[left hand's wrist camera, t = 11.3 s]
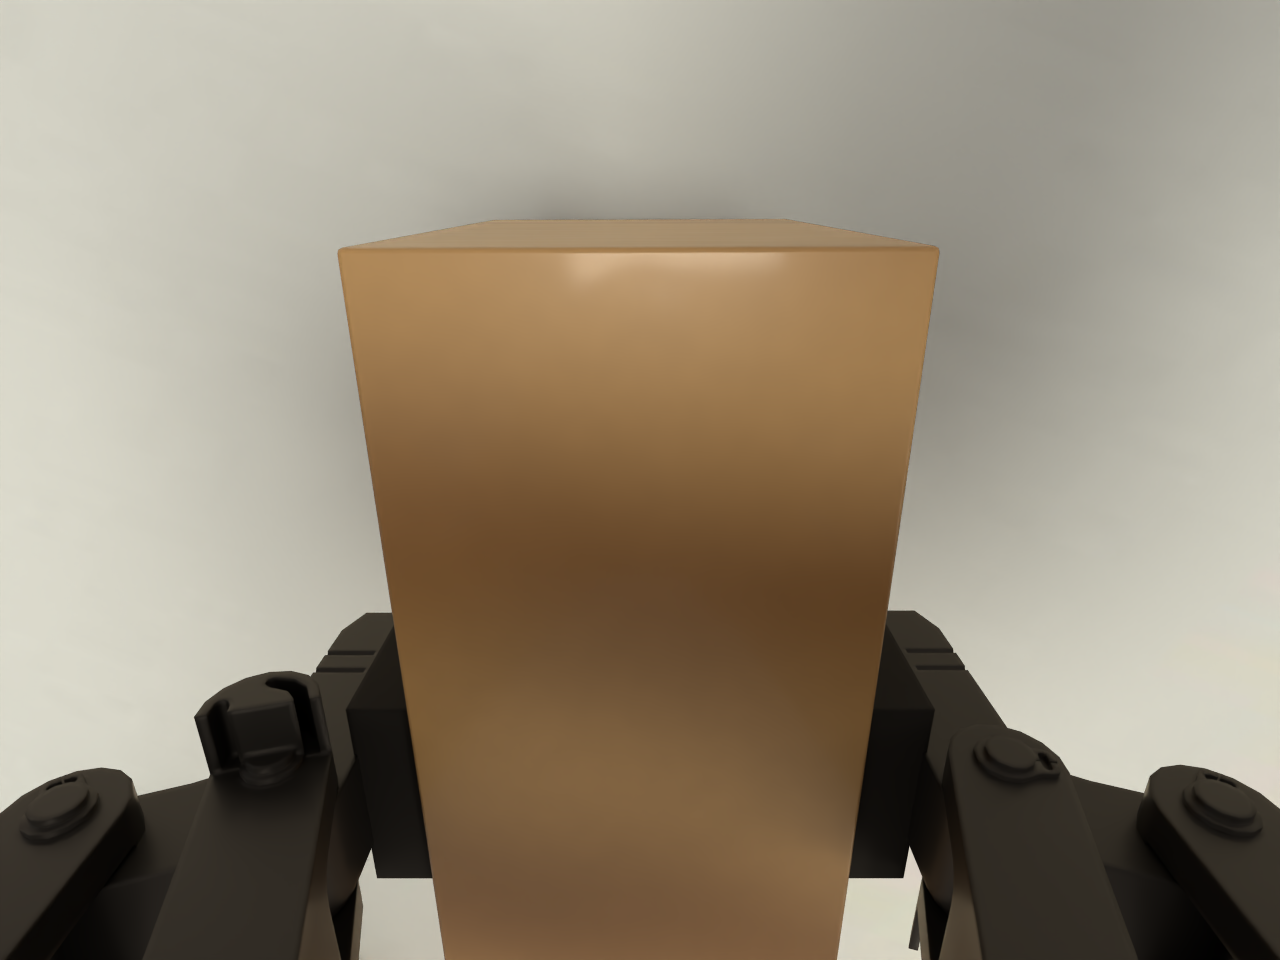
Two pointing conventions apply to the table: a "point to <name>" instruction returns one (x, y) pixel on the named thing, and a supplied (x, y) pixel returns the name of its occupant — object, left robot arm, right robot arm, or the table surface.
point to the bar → (639, 566)
